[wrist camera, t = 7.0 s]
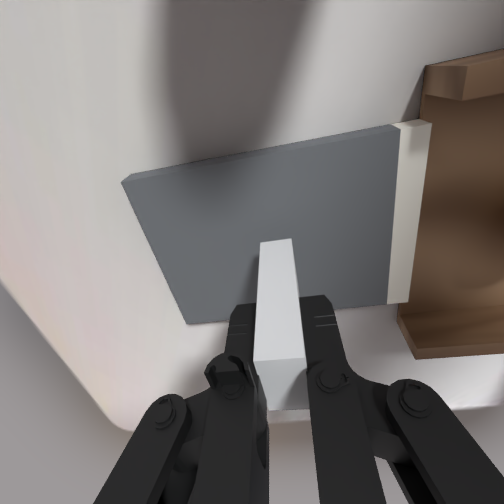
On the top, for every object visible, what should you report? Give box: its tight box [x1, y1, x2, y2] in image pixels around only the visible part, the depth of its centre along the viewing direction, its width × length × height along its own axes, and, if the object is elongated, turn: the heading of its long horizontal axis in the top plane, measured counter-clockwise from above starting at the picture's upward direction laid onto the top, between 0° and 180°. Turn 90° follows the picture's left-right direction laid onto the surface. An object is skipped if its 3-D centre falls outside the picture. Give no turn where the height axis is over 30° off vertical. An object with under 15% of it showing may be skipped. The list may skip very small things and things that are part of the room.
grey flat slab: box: [121, 119, 432, 324], centre depth 16 cm, size 10×14×1 cm
